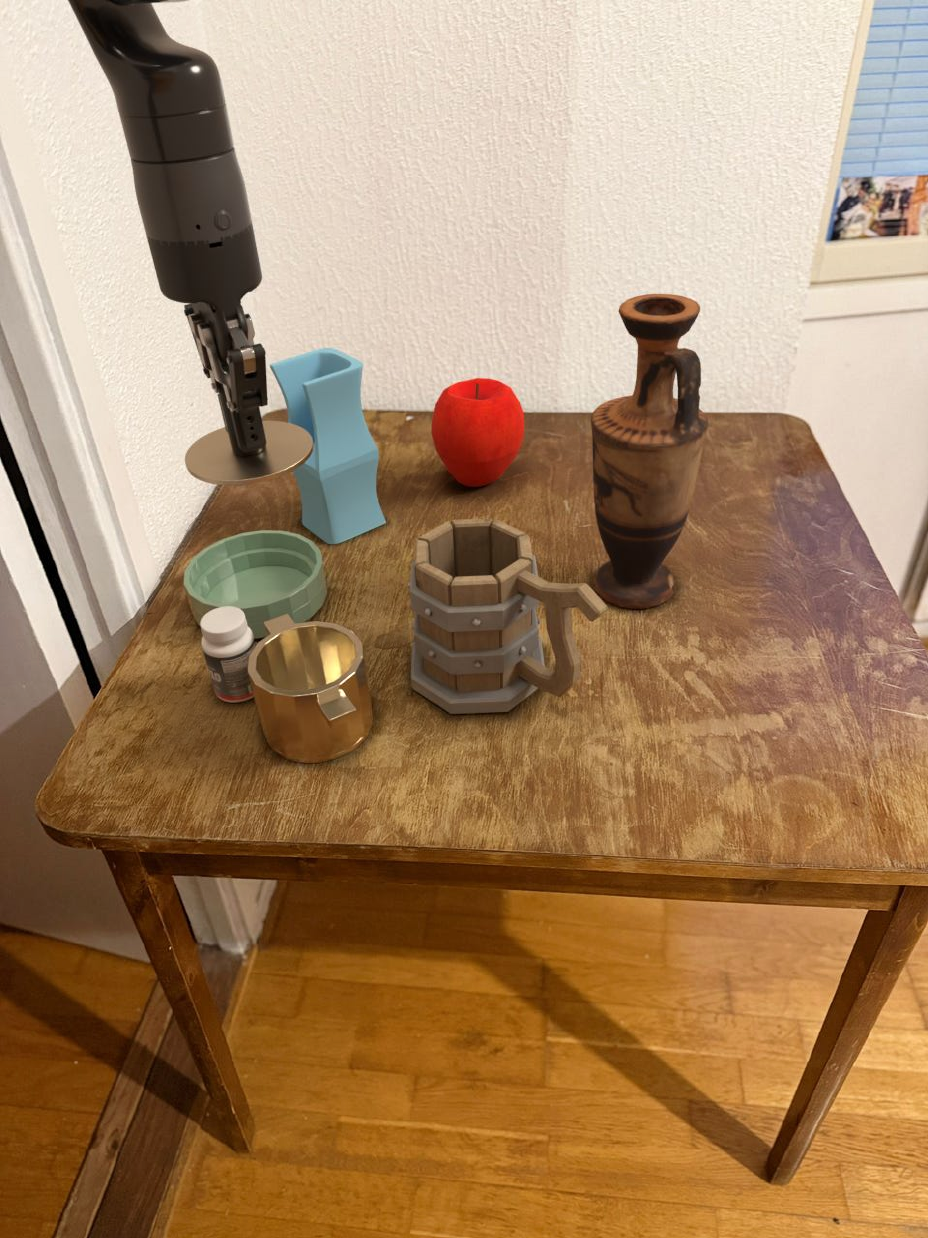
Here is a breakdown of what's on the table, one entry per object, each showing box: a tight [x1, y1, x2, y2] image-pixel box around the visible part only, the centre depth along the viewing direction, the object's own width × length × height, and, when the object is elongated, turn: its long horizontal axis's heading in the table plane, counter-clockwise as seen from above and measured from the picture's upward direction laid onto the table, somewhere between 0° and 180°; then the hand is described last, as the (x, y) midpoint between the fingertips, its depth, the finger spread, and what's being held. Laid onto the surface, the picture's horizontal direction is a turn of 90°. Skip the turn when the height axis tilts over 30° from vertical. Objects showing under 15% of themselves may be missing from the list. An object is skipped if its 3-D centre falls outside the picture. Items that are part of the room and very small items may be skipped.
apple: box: [430, 377, 525, 488], centre depth 110 cm, size 12×12×13 cm
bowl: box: [183, 529, 328, 640], centre depth 95 cm, size 14×14×4 cm
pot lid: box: [184, 385, 313, 487], centre depth 73 cm, size 11×11×7 cm
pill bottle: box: [199, 606, 257, 703], centre depth 82 cm, size 5×5×8 cm
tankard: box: [407, 517, 608, 715], centre depth 79 cm, size 20×13×15 cm, turn 46°
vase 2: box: [590, 293, 709, 610], centre depth 86 cm, size 11×11×30 cm
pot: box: [248, 614, 374, 764], centre depth 78 cm, size 10×15×8 cm, turn 30°
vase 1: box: [269, 347, 387, 545], centre depth 102 cm, size 8×8×20 cm
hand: (246, 439), depth 74 cm, fingers closed on pot lid, 3 cm apart
